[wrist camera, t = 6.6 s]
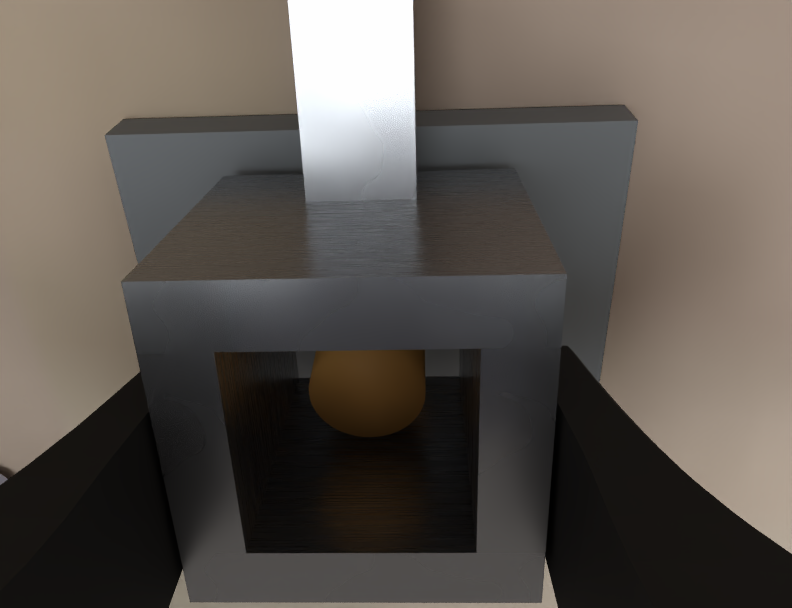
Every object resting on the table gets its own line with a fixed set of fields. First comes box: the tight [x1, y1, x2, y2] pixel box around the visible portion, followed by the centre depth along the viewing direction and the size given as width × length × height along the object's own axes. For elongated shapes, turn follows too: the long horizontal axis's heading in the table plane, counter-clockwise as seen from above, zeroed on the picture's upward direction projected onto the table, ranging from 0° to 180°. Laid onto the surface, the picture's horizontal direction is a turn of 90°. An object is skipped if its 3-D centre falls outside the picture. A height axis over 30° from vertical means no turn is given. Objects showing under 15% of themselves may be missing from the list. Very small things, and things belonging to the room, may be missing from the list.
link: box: [121, 0, 567, 603], centre depth 11 cm, size 5×9×5 cm, turn 2°
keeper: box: [105, 105, 638, 437], centre depth 14 cm, size 10×7×4 cm
